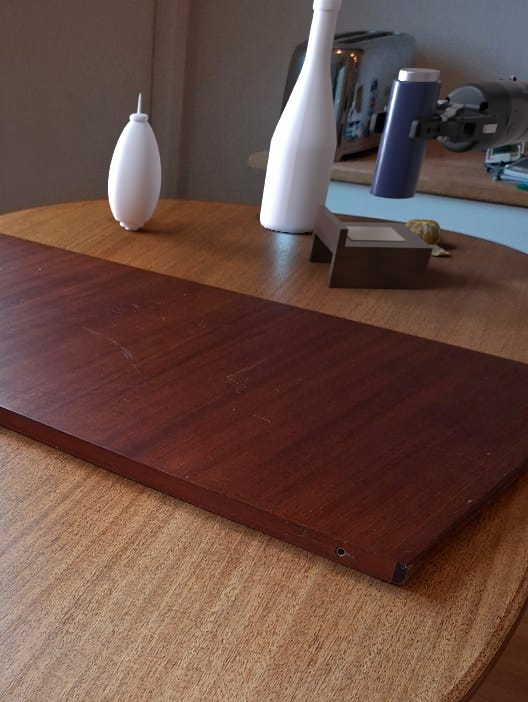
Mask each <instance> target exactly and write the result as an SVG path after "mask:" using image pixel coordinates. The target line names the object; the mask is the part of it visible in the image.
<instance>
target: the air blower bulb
mask: <svg viewBox="0 0 528 702" xmlns="http://www.w3.org/2000/svg"><path fill="white" fill-rule="evenodd" d="M137 105H138V106H137V112H136V113H132V114H130V116H129V122H128V123H127V124H126V126H125V127H124V128H123V131H122V132H121V134H120V136H119V139H118V140H117V143H116V145H115V149H114V152H113V155H112V158H111V163H110V167H109V173H108V184H107V185H108V187H107V188H108V191H107V192H108V201H109V206H110V210H111V212H112V215H113V217H114V219H115V221H118V222H120V223H119V225H120V226H121V227H122V228H125V230H127V231H138V229H139V228H140V229H141V228H142V227H144V224H145V223H147V222H149V220H151V218H152V216H153V214H154V212H155V211H156V208H157V205H158V203H159V198H160V194H161V186H162V163H161V157H160V150H159V146H158V142H157V138H156V135H155V133H154V130H153V128H152V126H151V125H150V123H149V122H148V120H149V115H148V114H146V113H142V93H141V92H140V93H139V96H138V104H137Z"/></svg>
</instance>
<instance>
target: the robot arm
mask: <svg viewBox="0 0 528 702" xmlns="http://www.w3.org/2000/svg"><path fill="white" fill-rule="evenodd" d="M387 108H388V104H387V105H385V106H384V109H383V110H380V111H374V112H373V114H372V116H371V120H370V126H369V133H370V134H375V135H376V134H382V132H383V127H384V122H385V117H386V113H387ZM409 139H410V140H411V141H422V140H428V141H430V140H434V141H436V142H440V143H441V145H442V147H444V149H446V150H447V151H449V152H451V153H455V154H465V153H472V152H477V151H484V150H492V149H497V148H501V147H503V146H507V145H513V144H519V143H526V142H528V79H523V80H510V79H497V80H496V79H495V80H485V81H475V82H465V83H463V84H460V85H458V86H457V87H455V88H454V89H452V90H451V91H450V92H449V93H448V95H447V96H446V97H445V98H444V99H438V102H437V106H436V110H435V115H434V117H428V118H418V119H415V120H414V121H413V123H412V127H411V131H410V135H409Z"/></svg>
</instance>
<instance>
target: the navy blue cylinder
mask: <svg viewBox="0 0 528 702" xmlns="http://www.w3.org/2000/svg"><path fill="white" fill-rule="evenodd" d="M440 75H441V71H440V70H439V69H433V68H424V67H423V68H420V67H419V68H418V67H406V68H400V70H399V73H398V77H397V78H394V79H393V80H392V84H391V89H390V96H389V99H388V102H387V105H388V108H387V113H386V117H385V122H384V127H383V132H382V133H381V136H380V141H379V146H378V151H377V155H376V161H375V165H374V168H373V169H374V170H373V175H372V179H371V184H370V188H369V194H370V195H372V196H374V197H378V198H383V199H389V200H390V199H391V200H408V199H412V198H414V197H415V196H416V193H417V188H418V185H419V181H420V177H421V172H422V169H423V164H424V160H425V156H426V152H427V148H428V143H429V140H422V141H411V140H410V139H409V135H410V131H411V127H412V123H413V121H414V120H415V119H418V118H428V117H434V115H435V110H436V106H437V102H438V100H439V98H440V94H441V89H442V85H443V81H442V80H439V78H440Z"/></svg>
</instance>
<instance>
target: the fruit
mask: <svg viewBox="0 0 528 702" xmlns="http://www.w3.org/2000/svg"><path fill="white" fill-rule="evenodd" d="M404 225H405V226H407V227H408V228H409V229H410V230H411V231H413V232H414V233H415V234H416V235H417V236H419V237H420V238H421V239H422V240H423V241H425V242H426V243H427V244H428V245H430V246H431V247H432V248H433V250H432V253H431V256H446V255H451V252H448V251H446V250H445V249H443V248H442V247H440V245H439V244H440V242H441V239H442V230H441V229H442V228H441V227H440V224H439V223H438V221H436V220H434V219H420V218H414V219H409V220H408V221H406V222H405V224H404Z"/></svg>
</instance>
